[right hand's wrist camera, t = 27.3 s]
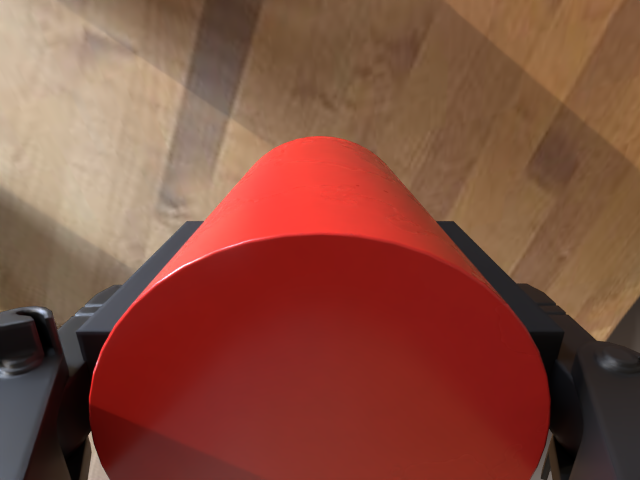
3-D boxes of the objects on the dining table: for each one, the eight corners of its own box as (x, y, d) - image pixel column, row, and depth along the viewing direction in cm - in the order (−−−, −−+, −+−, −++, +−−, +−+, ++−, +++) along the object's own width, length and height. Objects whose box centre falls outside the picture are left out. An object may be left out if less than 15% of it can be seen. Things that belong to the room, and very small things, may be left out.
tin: (443, 226, 17) (641, 446, 7) (319, 330, 19) (318, 627, 9) (321, 93, 15) (322, 105, 5) (196, 224, 17) (-2, 443, 7)
